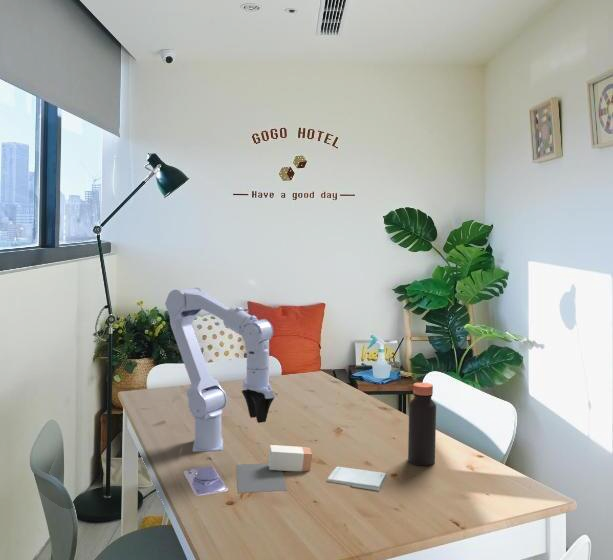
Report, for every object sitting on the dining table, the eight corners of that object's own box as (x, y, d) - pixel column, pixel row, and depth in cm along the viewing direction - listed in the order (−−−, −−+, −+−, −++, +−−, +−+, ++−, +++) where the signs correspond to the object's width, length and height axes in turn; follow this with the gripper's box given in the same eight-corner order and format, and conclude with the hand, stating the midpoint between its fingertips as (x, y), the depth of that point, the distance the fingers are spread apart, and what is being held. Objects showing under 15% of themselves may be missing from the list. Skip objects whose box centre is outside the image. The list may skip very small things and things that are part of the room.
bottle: (423, 454, 148) (425, 380, 147) (440, 463, 142) (442, 386, 141) (402, 458, 145) (404, 383, 144) (419, 468, 139) (420, 389, 138)
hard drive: (386, 472, 134) (336, 465, 138) (379, 486, 126) (327, 478, 130) (386, 479, 134) (336, 471, 138) (379, 493, 126) (327, 485, 130)
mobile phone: (195, 494, 122) (182, 469, 136) (195, 499, 122) (182, 473, 136) (229, 489, 125) (213, 464, 139) (229, 493, 125) (213, 468, 139)
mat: (236, 466, 140) (236, 464, 140) (280, 463, 141) (280, 462, 141) (237, 494, 124) (237, 492, 124) (287, 491, 126) (287, 490, 126)
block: (270, 444, 139) (309, 447, 141) (268, 462, 140) (307, 464, 141) (271, 451, 135) (312, 454, 136) (269, 469, 135) (309, 472, 137)
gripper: (232, 363, 147) (232, 414, 148) (255, 374, 135) (254, 430, 136) (257, 361, 151) (257, 410, 152) (281, 371, 138) (280, 425, 139)
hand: (257, 419), depth 144 cm, fingers open, 4 cm apart
